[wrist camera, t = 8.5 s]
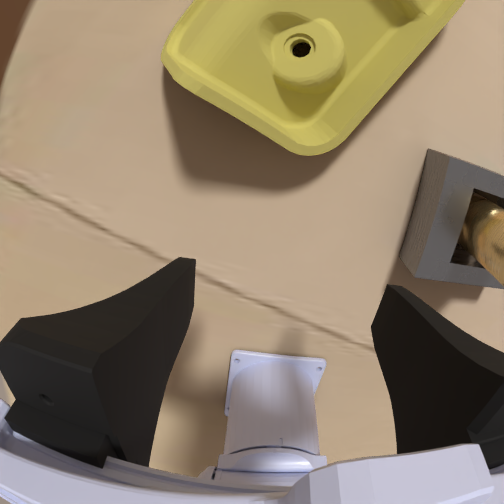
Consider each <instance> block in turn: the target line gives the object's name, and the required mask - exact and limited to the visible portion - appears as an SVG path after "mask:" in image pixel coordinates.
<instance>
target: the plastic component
mask: <svg viewBox="0 0 504 504" xmlns="http://www.w3.org/2000/svg"><path fill="white" fill-rule="evenodd" d="M464 1H465V0H194V1H193V2H192V4H191V5H190V6H189V7H188V9H187V10H186V11H185V13H184V14H183V15H182V17H181V18H180V19H179V21H178V22H177V23H176V25H175V26H174V28H173V29H172V31H171V33H170V34H169V36H168V38H167V40H166V42H165V44H164V47H163V49H162V53H161V61H162V63H163V64H164V66H165V67H166V68H167V70H168V71H169V73H170V74H171V76H172V77H173V79H174V80H175V81H176V82H177V83H179V84H180V85H181V86H183V87H184V88H186V89H187V90H189V91H190V92H192V93H193V94H195V95H197V96H199V97H201V98H202V99H204V100H206V101H208V102H210V103H211V104H213V105H215V106H217V107H218V108H220V109H222V110H224V111H225V112H227V113H229V114H230V115H232V116H234V117H235V118H237V119H239V120H241V121H242V122H244V123H246V124H247V125H249V126H250V127H252V128H254V129H255V130H257V131H259V132H260V133H262V134H263V135H265V136H267V137H268V138H270V139H271V140H273V141H274V142H276V143H278V144H279V145H281V146H282V147H284V148H285V149H287V150H288V151H290V152H293V153H295V154H298V155H306V156H312V155H319V154H323V153H325V152H328V151H330V150H332V149H334V148H336V147H337V146H338V145H340V144H341V143H342V142H343V141H344V140H345V139H346V138H347V137H348V136H349V135H350V134H351V132H352V131H353V130H354V129H355V128H356V127H357V126H358V124H359V123H360V122H361V121H362V120H363V119H364V117H365V116H366V115H367V114H368V113H369V112H370V111H371V109H372V108H373V107H374V106H375V105H376V104H377V103H378V101H379V100H380V99H381V98H382V97H383V96H384V95H385V93H386V92H387V91H388V90H389V89H390V88H391V86H392V85H393V84H394V83H395V82H396V81H397V80H398V78H399V77H400V76H401V75H402V74H403V73H404V72H405V70H406V69H407V68H408V67H409V66H410V65H411V64H412V62H413V61H414V60H415V59H416V58H417V57H418V56H419V54H420V53H421V52H422V51H423V50H424V49H425V48H426V46H427V45H428V44H429V43H430V42H431V41H432V40H433V38H434V37H435V36H436V35H437V34H438V33H439V32H440V30H441V29H442V28H443V27H444V26H445V25H446V24H447V22H448V21H449V20H450V19H451V18H452V17H453V15H454V14H455V13H456V12H457V10H458V9H459V8H460V7H461V6H462V4H463V3H464ZM303 42H305V43H307V44H309V45H310V46H311V50H310V53H309V54H308V55H306V56H305V57H301V58H299V57H295V56H294V55H293V53H292V50H293V47H294V46H295V45H296V44H298V43H303Z"/></svg>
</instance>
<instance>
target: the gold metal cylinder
mask: <svg viewBox="0 0 504 504" xmlns="http://www.w3.org/2000/svg"><path fill="white" fill-rule="evenodd" d="M457 243H458V244H459V245H461V246H462V247H463V248H464V249H465V250H466V251H467V252H468V253H469V254H471V255H472V256H473V257H474V258H475V259H476V260H477V261H478V262H479V263H480V264H481V265H482V266H483V267H484V268H485V269H486V270H487V271H489V272H490V273H491V274H492V275H493V276H494V277H495V278H496V279H497V280H498V281H499V282H500V283H501V284H502V285H503V286H504V209H503V208H501V207H499V206H498V205H496V204H494V203H493V202H491V201H489V200H487V199H486V198H484V197H482V196H480V195H479V194H477V193H474V192H473V193H472V196H471V200H470V203H469V207H468V210H467V214H466V217H465V220H464V223H463V226H462V229H461V232H460V235H459V238H458V241H457Z"/></svg>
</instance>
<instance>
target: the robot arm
mask: <svg viewBox="0 0 504 504" xmlns="http://www.w3.org/2000/svg"><path fill="white" fill-rule="evenodd" d="M195 267H196V259H190V258H183V257H179V258H177V259H175V260H174V261H172V262H171V263H169V264H168V265H166V266H165V267H163V268H162V269H160V270H159V271H157V272H156V273H154V274H153V275H151V276H150V277H148V278H146V279H144V280H143V281H141V282H139V283H137V284H136V285H134V286H132V287H130V288H129V289H127V290H125V291H123V292H121V293H119V294H116V295H114V296H112V297H109V298H107V299H105V300H102V301H99V302H96V303H93V304H90V305H87V306H84V307H81V308H78V309H74V310H70V311H66V312H61V313H56V314H51V315H44V316H36V317H28V318H21V319H20V320H19V321H18V322H17V323H16V324H15V326H14V327H13V328H12V329H11V330H10V331H9V332H8V334H7V335H6V336H5V337H4V338H3V339H2V341H1V342H0V371H1V373H2V375H3V377H4V379H5V380H6V382H7V384H8V386H9V388H10V390H11V391H12V393H13V395H14V397H15V399H16V400H15V402H14V403H13V405H12V406H11V407H10V405H8V404H7V403H6V402H5V401H4V400H2V399H1V398H0V497H2V498H3V499H5V500H7V501H8V502H10V503H11V504H504V353H503V352H501V351H499V350H497V349H495V348H493V347H491V346H489V345H487V344H485V343H483V342H481V341H479V340H477V339H476V338H474V337H472V336H471V335H469V334H468V333H466V332H464V331H463V330H461V329H460V328H458V327H457V326H455V325H454V324H453V323H451V322H450V321H448V320H447V319H446V318H444V317H443V316H442V315H440V314H439V313H438V312H436V311H435V310H434V309H433V308H431V307H430V306H429V305H427V304H426V303H425V302H423V301H422V300H421V299H420V298H418V297H417V296H416V295H414V294H413V293H411V292H410V291H408V290H407V289H405V288H403V287H402V286H396V285H388V284H387V286H386V289H385V292H384V294H383V297H382V300H381V302H380V305H379V308H378V310H377V313H376V315H375V318H374V320H373V323H372V325H371V330H372V337H373V342H374V347H375V351H376V354H377V357H378V360H379V363H380V366H381V370H382V373H383V376H384V379H385V382H386V385H387V388H388V391H389V395H390V399H391V403H392V409H393V416H394V422H395V431H396V442H397V454H394V455H384V456H372V457H362V458H356V459H350V460H343V461H337V462H334V463H331V464H328V465H327V458H326V456H320V450H319V439H318V429H317V419H316V410H315V400H314V394H315V392H316V389H317V387H318V384H319V382H320V379H321V377H322V374H323V372H324V369H325V367H326V361H325V359H322V358H310V357H299V356H288V355H278V354H269V353H260V352H252V351H244V350H234V351H233V352H232V355H231V362H230V371H229V379H228V387H227V395H226V403H225V412H224V414H225V415H226V416H228V422H227V430H226V438H225V446H224V454H220V455H219V458H218V465H217V467H215V466H208V467H207V468H206V469H205V470H204V471H202V472H201V473H200V474H199V476H198V477H192V476H186V475H181V474H176V473H171V472H166V471H162V470H157V469H153V468H149V461H150V455H151V450H152V445H153V440H154V435H155V430H156V425H157V421H158V416H159V412H160V408H161V404H162V400H163V396H164V392H165V388H166V384H167V381H168V378H169V375H170V372H171V370H172V367H173V365H174V362H175V360H176V357H177V355H178V352H179V350H180V347H181V345H182V343H183V340H184V338H185V335H186V333H187V330H188V327H189V323H190V320H191V316H192V312H193V308H194V289H195ZM235 359H239V360H235ZM318 367H320V368H318Z"/></svg>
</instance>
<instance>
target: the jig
mask: <svg viewBox="0 0 504 504" xmlns="http://www.w3.org/2000/svg"><path fill="white" fill-rule="evenodd" d="M474 188H475V189H478V190H481V191H484V192H487V193H490V194H493V195H496V196H498V200H497V203H496V205H498V206H499V207H501V208H503V209H504V176H503V175H500V174H498V173H496V172H493V171H491V170H488V169H485V168H483V167H480V166H478V165H475V164H472V163H470V162H467V161H464V160H461V159H458V158H456V157H453V156H450V155H447V154H444V153H441V152H438V151H435V150H431V149H428V151H427V156H426V161H425V165H424V170H423V174H422V178H421V182H420V186H419V190H418V194H417V198H416V202H415V205H414V209H413V213H412V216H411V220H410V223H409V226H408V230H407V233H406V236H405V240H404V243H403V246H402V249H401V252H400V255H399V257H400V259H401V260H402V261H403V263H404V264H405V265H406V267H407V268H408V270H409V271H410V272H411V274H412V275H413V276H414V277H415V278H422V279H430V280H438V281H445V282H453V283H461V284H468V285H476V286H484V287H492V288H500V289H504V286H503V285H502V284H501V283H500V282H499V281H498V280H497V279H496V278H495V277H494V276H493V275H492V274H491V273H490V272H489V271H487V270H486V269H485V268H484V267H483V266H482V265H481V264H480V263H479V262H478V261H477V260H476V259H475V258H474V257H473V256H472V255H471V254H469V253H468V252H467V251H465V250H460V249H455V247H456V244H457V241H458V238H459V235H460V232H461V229H462V226H463V223H464V220H465V217H466V214H467V210H468V207H469V203H470V200H471V196H472V193H473V189H474Z"/></svg>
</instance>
